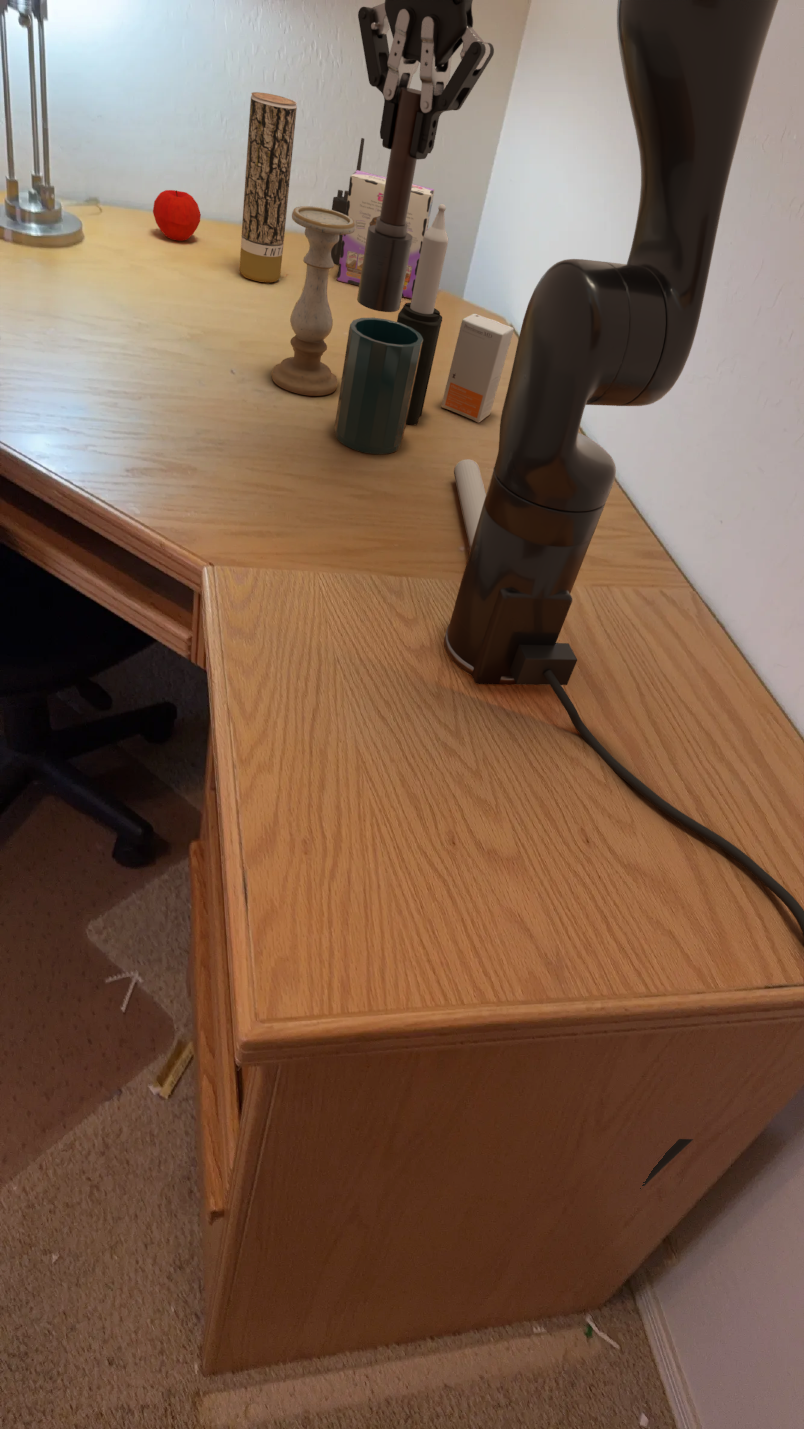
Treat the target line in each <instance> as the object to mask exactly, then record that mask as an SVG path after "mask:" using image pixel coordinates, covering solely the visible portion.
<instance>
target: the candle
mask: <svg viewBox="0 0 804 1429" xmlns="http://www.w3.org/2000/svg"><path fill="white" fill-rule="evenodd" d="M437 208H438V212H437V213H436V216H435V217H434V220H433V222H432V223H431V225H430V226H429V227H428V230H427V231H426V232H425V234H424V237H423V243H422V248H421V253H420V258H419V264H418V269H417V274H416V279H415V285H414V290H413V295H412V298H411V301H410V302H406V303H404V305H403V306H402V308H401V309H400V311H399V312H398V313H397V320H396V322H399V323H402V324H404V325H406V326H409V327H411V328H413V329H414V330H416V331H417V332H419V333H420V334H421V336H422V338H423V344H422V349H421V353H420V358H419V363H418V368H417V373H416V378H415V382H414V387H413V392H412V397H411V402H410V407H409V411H408V416H407V421H406V425H409V426H414V425H417V424H418V422H419V418H420V417H421V416H422V414H423V410H424V405H425V400H426V396H427V392H428V386H429V382H430V377H431V373H432V370H433V369H432V368H433V364H434V358H435V354H436V349H437V345H438V340H439V336H440V332H441V326H442V322H443V316H442V315H441V312H440V310H438V309H437V308H436V301H437V298H438V297H437V296H438V292H439V288H440V283H441V278H442V273H443V269H444V264H445V258H446V255H447V249H448V245H449V237H448V233H447V230H446V221H445V212H446V209H447V207H446V205H445V204H444V203H440V204H439V205H438V207H437Z"/></svg>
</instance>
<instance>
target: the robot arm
mask: <svg viewBox="0 0 804 1429" xmlns="http://www.w3.org/2000/svg"><path fill="white" fill-rule="evenodd" d="M473 1H474V0H384V2H383V3H380V4H377V5H375V6H372V7H369V6H361V7H360V8H359V10H358V12H357V19H358V23H359V24H358V25H359V31H360V37H361V42H362V49H363V55H364V60H365V61H364V62H365V67H366V72H367V78H368V79H367V80H368V82H369V85H370V86H371V87H374V88H376V89H377V90H378V91H379V92H380V93H381V94H382V96H383V101H384V103H383V109H382V116H381V121H380V128H379V137H380V139H381V140H382V141H381V142H382V143H381V144H382V147H383V148H384V149H387V150H391V146H392V140H393V134H394V127H395V121H396V115H397V109H398V103H399V96H400V90H401V88H402V87H406V88H411V84H412V80H413V76H414V75H415V74H416V73H417V71H418V68H419V80H420V81H421V88H420V89H421V90H420V91H421V101H420V108H421V112H417V116H416V121H415V127H414V133H413V138H412V144H411V150H410V156H411V157H412V158H415V159H417V160H426V159H427V157H428V154H432V152H433V149H434V147H435V140H436V135H437V131H438V125H439V122H440V121H439V120H440V117H441V115H442V114H443V113H444V112H449V111H459V110H460V109H461V108H462V107H463V105H464V103H465V102H466V100H467V99H468V97H469V95H470V94H471V92H472V91H473V89H474V87H475V86H476V84H477V83H478V81H479V79H480V77H481V76H482V74H483V73H484V71H485V70H486V68H487V66H488V64H489V63H490V61H491V60H492V58H493V57H494V54H495V48H494V45H493V44H492V43H491V42H486V41H484V40H483V39H482V37H480V35H479V34H478V33H477V31H476V30H475V28H473V26H474V16H473ZM616 4H617V5H616V30H617V31H616V32H617V41H618V50H619V55H620V56H619V57H620V62H621V66H622V74H623V78H624V83H625V89H626V93H627V98H628V103H629V108H630V112H631V117H632V121H633V126H634V130H635V136H636V142H637V147H638V153H639V166H640V191H639V202H638V209H637V216H636V222H635V228H634V232H633V237H632V243H631V245H630V246H631V247H630V251H629V254H628V257H627V260H626V261H627V262H626V263H618V262H611V261H610V262H609V261H601V260H593V259H583V258H568V259H563V260H560V261H557V262H556V263H554V264H553V265H551V266H550V267H549V268H548V269H547V270H546V271H545V272H544V274H542V276H541V277H540V279H539V281H538V282H537V284H536V286H535V288H534V289H533V292H532V294H531V297H530V299H529V301H528V304H527V306H526V310H525V313H524V316H523V318H522V324H521V327H520V332H519V336H518V339H517V345H516V349H515V353H514V358H513V364H512V367H511V372H510V377H509V381H508V386H507V391H506V393H505V398H504V402H503V406H502V411H501V415H500V423H499V434H498V435H499V439H498V449H497V450H498V451H497V456H496V459H495V464H494V466H493V471H492V473H491V477H490V481H489V483H488V487H487V490H486V497H485V501H484V504H483V507H482V511H481V514H480V518H479V521H478V525H477V528H476V532H475V535H474V539H473V542H472V546H471V549H470V548H469V554H468V556H467V560H466V563H465V567H464V571H463V574H462V578H461V580H460V585H459V588H458V591H457V596H456V599H455V601H454V606H453V610H452V613H451V617H450V621H449V624H448V625H447V628H446V630H445V634H444V637H443V638H444V639H443V646H444V650H445V653H446V654H447V656H448V658H449V659H450V660H451V661H452V662H453V663H454V665H456V667H457V668H459V669H460V670H462V671H463V672H465V673H466V674H468V675H470V676H471V678H472V679H473V681H474V683H475V684H476V685H499V686H500V685H503V686H514V685H515V686H516V685H517V686H525V685H526V686H549V687H550V688H551V689H552V691H553V692H554V694H555V695H556V697H557V698H558V700H559V702H560V703H561V705H562V706H563V708H564V710H565V711H566V713H567V715H568V717H569V719H570V721H571V723H572V725H573V727H574V728H575V730H576V731H577V732H578V733H579V735H580V736H581V737H582V738H583V740H584V741H585V742H586V743H587V744H588V746H590V747H591V748H592V750H594V751H595V752H596V753H597V754H598V756H600V757H601V758H602V760H603V761H604V762H605V763H606V764H607V765H608V766H609V767H610V768H611V769H612V770H613V771H614V773H615V774H616V775H618V776H619V777H620V778H621V779H622V780H624V781H625V782H626V783H627V784H628V785H629V786H631V788H633V789H635V791H637V792H638V793H639V794H640V795H641V796H642V797H644V798H645V799H646V800H648V802H649V803H651V804H652V805H654V806H655V807H656V808H657V809H659V810H660V811H661V812H663V813H664V814H665V815H667V816H669V817H670V818H672V819H673V820H675V821H676V822H678V823H679V824H681V825H682V826H683V827H685V828H687V829H689V830H690V831H692V832H693V833H695V834H697V835H698V836H700V837H702V838H703V839H705V840H706V841H709V842H710V843H712V844H713V845H715V846H716V847H717V848H719V849H721V850H723V851H724V852H725V853H726V854H728V855H729V856H730V857H732V858H733V859H735V860H736V861H737V862H738V863H739V864H741V865H742V866H743V867H744V868H745V869H746V870H747V871H748V872H750V873H751V874H752V875H753V876H754V877H755V878H756V879H758V880H759V882H761V883H762V884H763V885H764V886H765V887H767V889H769V891H770V892H772V893H773V894H774V895H775V896H776V897H777V898H778V899H779V900H780V901H781V902H782V903H783V904H784V905H785V906H786V907H787V909H788V910H789V911H790V913H791V914H792V916H793V917H794V918H795V920H796V922H797V924H798V926H799V928H800V931H801V933H802V936H803V937H804V908H803V907H802V906H801V904H800V903H799V902H798V900H796V898H795V897H794V896H793V895H792V894H791V893H790V892H789V891H788V890H787V889H786V888H785V887H784V886H783V885H782V884H780V882H778V881H777V880H776V879H775V878H773V876H771V875H770V874H769V873H768V872H767V871H766V870H764V869H763V868H762V867H761V866H760V865H759V864H757V862H755V861H754V860H753V859H752V858H751V857H750V856H748V855H747V854H746V853H745V852H743V851H742V850H741V849H740V848H738V847H737V846H736V845H734V844H733V843H731V842H730V841H728V840H727V839H725V838H724V837H723V836H721V835H719V834H717V833H716V832H715V831H712V830H711V829H710V828H708V827H707V826H704V825H703V824H701V823H699V822H698V821H696V820H694V819H693V818H692V817H690V816H688V815H687V814H685V813H683V812H682V811H680V810H679V809H677V808H676V807H675V806H673V805H671V804H670V803H669V802H667V801H666V800H664V799H663V798H662V797H661V796H659V795H658V794H657V793H656V792H655V791H653V790H652V789H651V788H650V787H649V786H647V784H645V783H644V782H642V781H641V780H640V779H639V778H637V777H636V776H635V775H634V774H633V773H631V772H630V771H629V770H628V769H626V767H625V766H623V764H621V763H620V762H619V761H618V760H617V759H616V758H615V757H613V755H611V753H610V752H609V751H608V750H607V749H606V748H605V747H604V746H603V745H602V744H601V742H600V741H599V740H598V739H597V738H596V737H595V735H593V733H592V732H591V730H590V729H589V728H588V727H587V725H586V724H585V722H584V721H583V720H582V719H581V716H580V714H579V712H578V710H577V709H576V707H575V705H574V703H573V702H572V699H571V698H570V697H569V695H568V693H567V692H566V691H565V689H564V687H563V686H568V683H569V681H570V679H571V677H572V674H573V672H574V669H575V668H576V665H577V662H578V658H577V656H576V654H575V653H574V651H573V649H572V647H571V645H570V643H568V642H557V641H558V638H559V637H560V634H561V631H562V629H563V626H564V624H565V620H566V619H567V616H568V613H569V611H570V609H571V605H572V603H573V596H572V595H571V593H572V591H573V588H574V585H575V583H576V580H577V577H578V575H579V573H580V569H581V568H582V564H583V562H584V559H585V557H586V554H587V551H588V549H589V546H590V544H591V541H592V538H593V536H594V535H595V531H596V529H597V526H598V524H599V521H600V518H601V517H602V513H603V511H604V508H605V506H606V503H607V501H608V498H609V496H610V493H611V490H612V489H613V486H614V483H615V479H616V474H617V467H616V463H615V461H614V459H613V457H612V455H610V453H608V451H607V450H606V449H605V448H604V447H602V445H600V444H599V443H598V442H596V441H595V440H593V438H590V437H588V436H586V435H585V434H582V433H581V432H579V431H580V428H581V424H582V418H583V414H584V411H585V408H586V406H609V407H610V406H611V407H642V406H649V405H653V404H654V403H656V402H658V401H660V400H661V399H663V398H664V397H665V396H666V395H667V394H668V393H669V392H670V391H671V390H672V388H674V386H675V384H676V383H677V382H678V380H679V379H680V376H681V375H682V373H683V371H684V368H685V366H686V364H687V362H688V358H689V356H690V354H691V350H692V348H693V345H694V341H695V337H696V335H697V330H698V326H699V322H700V317H701V313H702V309H703V305H704V304H703V303H704V299H705V295H706V290H707V285H708V284H707V283H708V279H709V273H710V268H711V264H712V258H713V252H714V248H715V244H716V239H717V233H718V229H719V224H720V218H721V214H722V209H723V204H724V199H725V195H726V190H727V186H728V182H729V177H730V174H731V169H732V165H733V162H734V159H735V153H736V150H737V146H738V142H739V140H740V134H741V131H742V128H743V124H744V120H745V116H746V113H747V108H748V104H749V101H750V97H751V94H752V89H753V86H754V83H755V78H756V75H757V71H758V68H759V64H760V61H761V57H762V54H763V50H764V47H765V44H766V41H767V37H768V34H769V30H770V27H771V25H772V23H773V18H774V16H775V13H776V10H777V7H778V4H779V0H617V3H616ZM389 30H390V32H391V35H392V43H391V47H389V40H388V36H387V34H388V32H389ZM461 45H462V48H461V51H460V52H459V56H460V62H459V64H458V65H457V67H456V68H455V70H454V72H453V73H452V75H451V68H452V58H453V55H454V54H455V53H456V52H457V51H458V49H459V48H460V47H461ZM389 48H390V49H389ZM693 1141H694V1139H693V1138H679V1139H678V1140H677V1141H676V1143H675V1142H674V1143H675V1144H674V1143H673V1144H674V1145H673V1144H672V1145H673V1146H672V1145H671V1146H672V1147H671V1146H670V1147H671V1148H670V1147H669V1148H670V1149H669V1148H668V1149H669V1150H668V1149H667V1150H668V1151H667V1150H666V1151H667V1152H666V1151H665V1152H666V1153H665V1152H664V1153H665V1155H664V1156H663V1158H662V1159H661V1160H660V1161H659V1162H658V1164H657V1165H656V1166H655V1167H654V1168H653V1170H652V1171H651V1173H650V1174H649V1176H648V1178H647V1179H646V1181H645V1182H643V1183H645V1184H643V1185H642V1186H644V1187H645V1186H647V1184H648V1183H649V1182H650V1181H651V1180H653V1178H654V1177H655V1176H657V1175H658V1173H660V1171H662V1170H663V1169H664V1168H665V1167H666V1166H667V1165H668V1164H669V1163H670V1162H671V1161H672V1160H673V1159H674V1158H676V1156H678V1155H679V1154H680V1153H681V1152H682V1151H683V1150H684V1149H685V1148H686V1147H688V1145H689V1144H691V1143H692V1142H693ZM640 1189H641V1188H640ZM641 1190H642V1189H641Z"/></svg>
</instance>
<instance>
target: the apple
mask: <svg viewBox="0 0 804 1429" xmlns="http://www.w3.org/2000/svg"><path fill="white" fill-rule="evenodd" d="M152 214H153V218H154V220H155V223H156V225H157V227H158V228H159V230H160V232H162V234H163V235H164V236H165V237H166V238H168V239H170V240H172V241H177V242H180V241H181V242H183V241H187V240H189V239H190V238H191V237H192V236H193V235H194V234H195V232H196V231H197V229H198V227H199V225H200V223H201V218H202V217H201V215H202V214H201V211H200V208H199V204H198V202H197V201H196V200H195V198H194V196H192V195H191V194H189V193H188V192H186V191H181V190H176V189H175V190H174V189H166V190H163V191H160V193H159V194H158V195H157V196H156V198H155V199H154V202H153V208H152Z"/></svg>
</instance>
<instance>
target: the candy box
mask: <svg viewBox="0 0 804 1429" xmlns="http://www.w3.org/2000/svg"><path fill="white" fill-rule="evenodd" d="M386 177H387V176H382V175H378V174H374V173H370V172H366V171H363V170H361V171H359V170H357V171H356V170H355V171H354V172H353V173H352V174H351V175H350V176H349V182H348V183H349V184H348V190H347V191H348V199H347V207H346V214H345V215H347V216H349V217H350V218H352V219H353V220H354V222H355V230H354V232H353V233H351V234H345V235H343V237H342V246H341V253H340V261H339V265H338V268H337V275H336V281H338V282H343V283H345V284H350V285H355V286H357V287H359V284H360V277H361V271H362V264H363V258H364V252H365V245H366V239H367V232H368V227H369V226H372V225H376V220H377V218H378V217H380V214H381V208H382V202H383V195H384V189H385V183H386ZM434 196H435V188H430V187H427V186H423V185H419V184H415V183H412V189H411V194H410V200H409V205H408V211H407V217H406V222H405V223H407V225H408V228H407V233H409V234H410V235H411V236H412V237H413V239H412V244H411V250H410V255H409V260H408V266H407V271H406V276H405V282H404V287H403V292H402V298H408V299H412V295H413V290H414V285H415V279H416V274H417V269H418V264H419V258H420V253H421V248H422V243H423V237H424V234H425V232H426V231H427V230H428V229H429V222H430V218H431V212H432V206H433V202H434Z"/></svg>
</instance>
